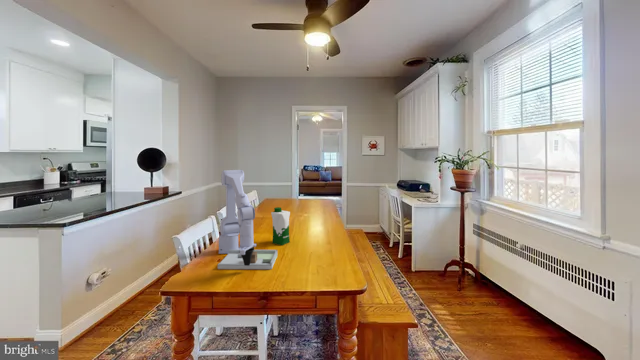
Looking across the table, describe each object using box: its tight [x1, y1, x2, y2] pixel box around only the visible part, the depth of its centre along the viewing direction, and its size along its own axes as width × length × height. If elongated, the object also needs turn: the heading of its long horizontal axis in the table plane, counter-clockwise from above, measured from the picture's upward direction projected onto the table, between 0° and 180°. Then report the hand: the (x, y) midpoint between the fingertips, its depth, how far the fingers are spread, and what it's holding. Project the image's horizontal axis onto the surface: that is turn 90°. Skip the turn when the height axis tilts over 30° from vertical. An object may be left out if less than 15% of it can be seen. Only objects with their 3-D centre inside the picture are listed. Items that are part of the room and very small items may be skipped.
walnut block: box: [251, 252, 257, 263], centre depth 128 cm, size 4×4×4 cm
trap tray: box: [217, 249, 278, 270], centre depth 132 cm, size 24×16×3 cm, turn 90°
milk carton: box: [270, 206, 291, 246], centre depth 159 cm, size 9×9×20 cm
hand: (247, 264), depth 122 cm, fingers closed
